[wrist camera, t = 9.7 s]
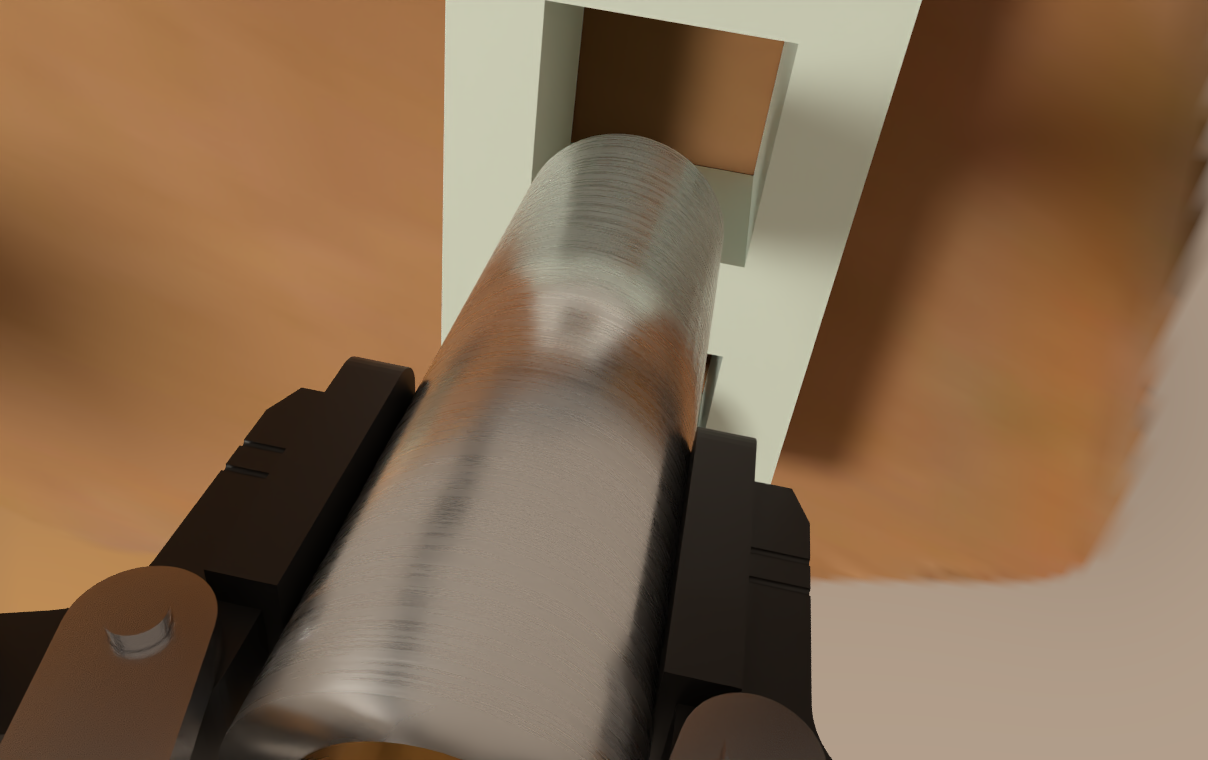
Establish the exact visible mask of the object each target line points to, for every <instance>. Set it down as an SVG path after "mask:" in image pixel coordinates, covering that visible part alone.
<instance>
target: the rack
mask: <svg viewBox="0 0 1208 760" xmlns="http://www.w3.org/2000/svg"><path fill="white" fill-rule="evenodd" d="M921 2H922V0H446V10H445V90H444V170H443V250H442V330H441V346H442V344H443V342H444V340H445V339H446V337H447V335H448V333H449V331H450V330H451V328H452V326H453V324H454V322H455V321H456V319H457V317H458V315H459V313H460V312H461V310H462V308H463V306H464V304H465V303H466V301H467V299H468V297H469V295H470V294H471V292H472V290H473V288H474V286H475V285H476V283H477V281H478V279H479V277H480V276H481V274H482V272H483V270H484V268H485V267H486V265H487V263H488V261H489V259H490V258H491V256H492V254H493V252H494V250H495V249H496V247H497V245H498V243H499V241H500V240H501V238H502V236H503V234H504V232H505V231H506V229H507V227H508V225H509V223H510V222H511V220H512V218H513V216H514V214H515V213H516V211H517V209H518V207H519V205H520V204H521V202H522V200H523V198H524V196H525V194H526V193H527V191H528V189H529V187H530V185H531V184H532V182H533V180H534V178H535V177H536V175H537V174H538V172H539V171H540V169H541V168H542V167H543V166H544V165H545V164H546V162H547V161H548V160H549V159H550V158H552V157H553V156H554V155H555V154H556V153H558V152H559V151H560V150H562V149H564V148H565V147H567V146H569V145H570V144H573V143H571V135H572V125H573V115H574V105H575V95H576V85H577V75H578V65H579V55H580V45H581V36H582V26H583V16H584V7H588V8H594V9H600V10H605V11H611V12H617V13H623V14H629V15H634V16H640V17H646V18H652V19H658V20H663V21H669V22H675V23H681V24H687V25H693V26H698V27H704V28H710V29H716V30H722V31H727V32H733V33H739V34H745V35H751V36H756V37H762V38H768V39H774V40H780V41H785V42H784V46H783V51H782V55H781V59H780V64H779V68H778V72H777V77H776V81H775V85H774V89H773V94H772V98H771V102H770V107H769V111H768V115H767V120H766V124H765V128H764V132H763V137H762V141H761V145H760V150H759V154H758V158H757V163H756V167H755V171H754V176H752V175H747V174H741V173H736V172H730V171H725V170H719V169H714V168H708V167H703V166H697V165H695V166H696V167H697V168H698V169H699V171H700V172H701V173H702V174H703V175H704V177H705V178H706V179H707V181H708V182H709V184H710V186H711V187H712V189H713V191H714V193H715V195H716V197H717V199H718V202H719V205H720V209H721V212H722V217H723V224H724V240H723V247H722V254H721V261H720V268H719V275H718V282H717V289H716V296H715V303H714V310H713V317H712V324H711V331H710V338H709V345H708V352H707V354H712V356H711V361H710V365H709V369H708V373H707V378H706V382H705V386H704V391H703V394H701V401H700V408H699V415H698V422H697V427H703V428H708V429H713V430H718V431H723V432H728V433H733V434H738V435H743V436H748V437H753V438H756V440H757V450H756V467H755V481H756V482H761V483H766V484H771V481H772V478H773V475H774V471H775V468H776V465H777V462H778V459H779V455H780V452H781V449H782V446H783V443H784V439H785V436H786V433H787V430H788V427H789V423H790V420H791V417H792V414H793V411H794V407H795V404H796V401H797V398H798V395H799V391H800V388H801V385H802V382H803V379H804V375H805V372H806V369H807V366H808V363H809V359H810V356H811V353H812V350H813V347H814V344H815V340H816V337H817V334H818V331H819V328H820V324H821V321H822V318H823V315H824V312H825V308H826V305H827V302H828V299H829V296H830V292H831V289H832V286H833V283H834V280H835V276H836V273H837V270H838V267H839V264H840V260H841V257H842V254H843V251H844V248H845V244H846V241H847V238H848V235H849V232H850V228H851V225H852V222H853V219H854V216H855V213H856V209H857V206H858V203H859V200H860V197H861V193H862V190H863V187H864V184H865V181H866V177H867V174H868V171H869V168H870V165H871V161H872V158H873V155H874V152H875V149H876V145H877V142H878V139H879V136H880V133H881V129H882V126H883V123H884V120H885V117H886V113H887V110H888V107H889V104H890V101H891V97H892V94H893V91H894V88H895V85H896V82H897V78H898V75H899V72H900V69H901V66H902V62H903V59H904V56H905V53H906V50H907V46H908V43H909V40H910V37H911V34H912V30H913V27H914V24H915V21H916V18H917V14H918V11H919V8H920V5H921ZM696 430H697V429H696Z"/></svg>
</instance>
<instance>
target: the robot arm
mask: <svg viewBox="0 0 1208 760" xmlns="http://www.w3.org/2000/svg"><path fill="white" fill-rule="evenodd" d="M414 394H415V377H414V372H413V370H412V369H411V368H409V367H405V366H400V365H395V364H390V363H385V362H380V361H375V360H370V359H365V358H360V357H350V358H349V359H348V360H347V361H346V362H345V363H344V365H343V366H342V368H341V369H340V371H339V372H338V374H337V375H336V377H335V378H334V379H333V381H332V382H331V384H330V385H329V387H328V388H327V390H326V391H325V392H321V391H316V390H311V389H306V388H300V389H299V390H297V391H296V392H294V393H293V394H291V395H289V396H288V397H286V398H285V399H283V400H281V401H280V402H278V403H277V404H275V405H274V406H272V407H270V408H269V409H267V410H266V411H265V413H264V414H263V415H262V417H261V418H260V419H259V421H258V422H257V423H256V425H255V426H254V427H253V429H252V430H251V431H250V433H249V434H248V435H247V437H246V438H245V439H244V444H243V446H239V447H238V449H237V450H236V451H235V453H234V454H233V455H232V457H231V458H230V459H229V461H228V462H227V463H226V468H225V470H224V471H223V470H221V471H220V473H219V474H218V475H217V477H216V478H215V479H214V481H213V482H212V483H211V485H210V486H209V487H208V489H207V490H206V491H205V493H204V494H203V495H202V497H201V498H200V499H199V501H198V502H197V503H196V505H195V506H194V507H193V509H192V510H191V511H190V513H189V514H188V515H187V517H186V518H185V519H184V521H183V522H182V523H181V525H180V526H179V527H178V529H177V530H176V531H175V533H174V534H173V535H172V537H171V538H170V539H169V541H168V542H167V543H166V545H165V546H164V547H163V549H162V550H161V551H160V553H159V554H158V555H157V557H156V558H155V559H154V561H153V562H152V563H151V564H150V565H149V566H147V567H140V568H135V569H131V570H127V571H124V572H121V573H118V574H116V575H113V576H111V577H109V578H107V579H105V580H103V581H101V582H99V583H97V584H96V585H94V586H93V587H92V588H90V589H89V590H87V591H86V592H85V593H84V594H82V595H81V596H80V597H79V598H78V599H77V600H76V601H75V602H74V603H73V604H72V606H71V607H70V608H67V609H59V610H50V611H35V612H18V613H2V614H0V760H218V754H219V749H220V746H221V744H222V742H223V739H224V737H225V735H226V733H227V731H228V730H229V728H230V726H231V724H232V722H233V721H234V719H235V717H236V715H237V713H238V711H239V710H240V708H241V706H242V704H243V702H244V701H245V699H246V697H247V695H248V693H249V692H250V690H251V688H252V686H253V684H254V683H255V681H256V679H257V677H258V675H259V674H260V672H261V670H262V668H263V666H264V665H265V663H266V661H267V659H268V657H269V656H270V654H271V652H272V650H273V648H274V647H275V645H276V643H277V641H278V639H279V638H280V636H281V634H282V632H283V630H284V629H285V627H286V625H287V623H288V621H289V620H290V618H291V616H292V614H293V612H294V611H295V609H296V607H297V605H298V603H299V602H300V600H301V598H302V596H303V594H304V593H305V591H306V589H307V587H308V585H309V584H310V582H311V580H312V578H313V576H314V575H315V573H316V571H317V569H318V567H319V566H320V564H321V562H322V560H323V558H324V557H325V555H326V553H327V551H328V549H329V548H330V546H331V544H332V542H333V540H334V539H335V537H336V535H337V533H338V531H339V530H340V528H341V526H342V524H343V522H344V521H345V519H346V517H347V515H348V513H349V512H350V510H351V508H352V506H353V504H354V503H355V501H356V499H357V497H358V495H359V494H360V492H361V490H362V488H363V486H364V485H365V483H366V481H367V479H368V477H369V476H370V474H371V472H372V470H373V468H374V467H375V465H376V463H377V461H378V459H379V457H380V456H381V454H382V452H383V450H384V448H385V447H386V445H387V443H388V441H389V439H390V438H391V436H392V434H393V432H394V430H395V429H396V427H397V425H398V423H399V421H400V420H401V418H402V416H403V414H404V412H405V411H406V409H407V407H408V405H409V403H410V402H411V400H412V398H413V396H414ZM756 450H757V440H756V438H753V437H748V436H743V435H738V434H733V433H728V432H723V431H718V430H713V429H708V428H703V427H697V430H696V433H695V437H694V441H693V445H692V450H691V454H690V461H689V468H688V475H687V482H686V489H685V495H684V502H683V509H682V516H681V523H680V530H679V536H678V543H677V550H676V557H675V564H674V571H673V578H672V584H671V591H670V598H669V605H668V612H667V619H666V625H665V632H664V639H663V646H662V653H661V660H660V666H659V673H658V680H657V687H656V694H655V701H654V707H653V714H652V723H653V736H652V743H651V750H650V757H649V760H832V759H831V757H830V756H829V755H828V753H827V751H826V750H825V748H824V746H823V745H822V743H821V741H820V739H819V736H818V734H817V731H816V728H815V724H814V720H813V715H812V706H811V705H812V701H811V700H812V699H811V698H812V697H811V609H810V608H811V604H810V603H811V600H810V596H809V592H810V566H809V561H810V523H809V521H808V519H807V517H806V515H805V513H804V511H803V509H802V507H801V505H800V503H799V502H798V500H797V498H796V496H795V494H794V492H793V490H792V489H790V488H786V487H781V486H776V485H771V484H766V483H761V482H756V481H755V467H756Z"/></svg>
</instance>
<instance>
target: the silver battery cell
mask: <svg viewBox="0 0 1208 760" xmlns="http://www.w3.org/2000/svg"><path fill="white" fill-rule="evenodd" d="M723 240H724V224H723V217H722V212H721V209H720V205H719V202H718V199H717V197H716V195H715V193H714V191H713V189H712V187H711V186H710V184H709V182H708V181H707V179H706V178H705V177H704V175H703V174H702V173H701V172H700V171H699V169H698V168H697V167H696V166H695V165H694V164H692V163H691V162H690V161H689V160H688V159H687V158H686V157H684V156H683V155H681V154H680V153H679V152H677V151H676V150H674V149H672V148H670V147H668V146H666V145H665V144H662V143H660V142H657V141H655V140H652V139H649V138H645V137H641V136H637V135H629V134H604V135H597V136H592V137H589V138H585V139H582V140H580V141H577V142H575V143H573V144H570V145H569V146H567V147H565V148H564V149H562V150H560V151H559V152H558V153H556V154H555V155H554V156H553V157H552V158H550V159H549V160H548V161H547V162H546V164H545V165H544V166H543V167H542V168H541V169H540V171H539V172H538V174H537V175H536V177H535V178H534V180H533V182H532V184H531V185H530V187H529V189H528V191H527V193H526V194H525V196H524V198H523V200H522V202H521V204H520V205H519V207H518V209H517V211H516V213H515V214H514V216H513V218H512V220H511V222H510V223H509V225H508V227H507V229H506V231H505V232H504V234H503V236H502V238H501V240H500V241H499V243H498V245H497V247H496V249H495V250H494V252H493V254H492V256H491V258H490V259H489V261H488V263H487V265H486V267H485V268H484V270H483V272H482V274H481V276H480V277H479V279H478V281H477V283H476V285H475V286H474V288H473V290H472V292H471V294H470V295H469V297H468V299H467V301H466V303H465V304H464V306H463V308H462V310H461V312H460V313H459V315H458V317H457V319H456V321H455V322H454V324H453V326H452V328H451V330H450V331H449V333H448V335H447V337H446V339H445V340H444V342H443V344H442V346H441V348H440V349H439V351H438V353H437V355H436V357H435V358H434V360H433V362H432V364H431V366H430V367H429V369H428V371H427V373H426V375H425V376H424V378H423V380H422V382H421V384H420V385H419V387H418V389H417V391H416V393H415V394H414V396H413V398H412V400H411V402H410V403H409V405H408V407H407V409H406V411H405V412H404V414H403V416H402V418H401V420H400V421H399V423H398V425H397V427H396V429H395V430H394V432H393V434H392V436H391V438H390V439H389V441H388V443H387V445H386V447H385V448H384V450H383V452H382V454H381V456H380V457H379V459H378V461H377V463H376V465H375V467H374V468H373V470H372V472H371V474H370V476H369V477H368V479H367V481H366V483H365V485H364V486H363V488H362V490H361V492H360V494H359V495H358V497H357V499H356V501H355V503H354V504H353V506H352V508H351V510H350V512H349V513H348V515H347V517H346V519H345V521H344V522H343V524H342V526H341V528H340V530H339V531H338V533H337V535H336V537H335V539H334V540H333V542H332V544H331V546H330V548H329V549H328V551H327V553H326V555H325V557H324V558H323V560H322V562H321V564H320V566H319V567H318V569H317V571H316V573H315V575H314V576H313V578H312V580H311V582H310V584H309V585H308V587H307V589H306V591H305V593H304V594H303V596H302V598H301V600H300V602H299V603H298V605H297V607H296V609H295V611H294V612H293V614H292V616H291V618H290V620H289V621H288V623H287V625H286V627H285V629H284V630H283V632H282V634H281V636H280V638H279V639H278V641H277V643H276V645H275V647H274V648H273V650H272V652H271V654H270V656H269V657H268V659H267V661H266V663H265V665H264V666H263V668H262V670H261V672H260V674H259V675H258V677H257V679H256V681H255V683H254V684H253V686H252V688H251V690H250V692H249V693H248V695H247V697H246V699H245V701H244V702H243V704H242V706H241V708H240V710H239V711H238V713H237V715H236V717H235V719H234V721H233V722H232V724H231V726H230V728H229V730H228V731H227V733H226V735H225V737H224V739H223V742H222V744H221V746H220V749H219V754H218V760H649V757H650V750H651V743H652V736H653V723H652V714H653V707H654V701H655V694H656V687H657V680H658V673H659V666H660V660H661V653H662V646H663V639H664V632H665V625H666V619H667V612H668V605H669V598H670V591H671V584H672V578H673V571H674V564H675V557H676V550H677V543H678V536H679V530H680V523H681V516H682V509H683V502H684V495H685V489H686V482H687V475H688V468H689V461H690V454H691V450H692V445H693V441H694V437H695V433H696V429H697V422H698V415H699V408H700V401H701V394H702V387H703V380H704V373H705V366H706V359H707V352H708V345H709V338H710V331H711V324H712V317H713V310H714V303H715V296H716V289H717V282H718V275H719V268H720V261H721V254H722V247H723Z"/></svg>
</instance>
